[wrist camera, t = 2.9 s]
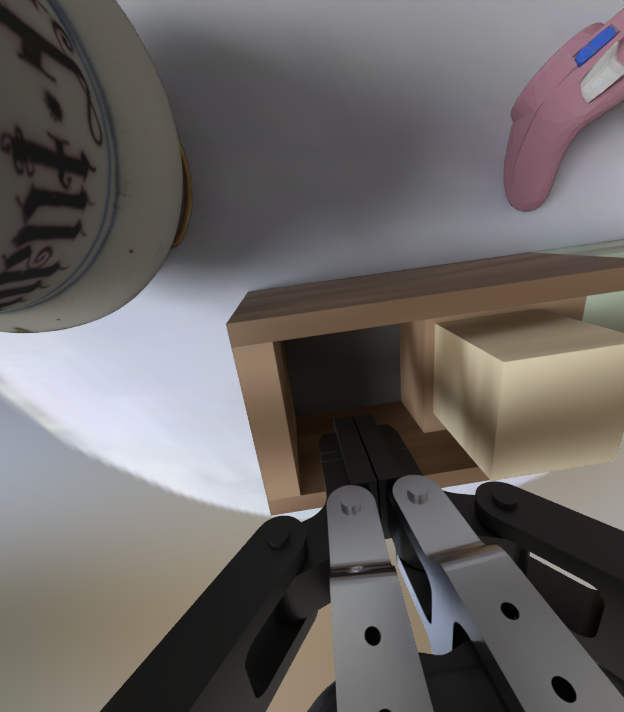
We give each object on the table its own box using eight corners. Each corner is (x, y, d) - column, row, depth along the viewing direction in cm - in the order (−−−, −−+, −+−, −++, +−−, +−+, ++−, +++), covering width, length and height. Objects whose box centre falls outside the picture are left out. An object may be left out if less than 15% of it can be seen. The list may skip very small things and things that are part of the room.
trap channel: (248, 292, 18) (225, 324, 11) (629, 238, 18) (822, 238, 12) (275, 428, 21) (271, 515, 14) (597, 379, 22) (732, 440, 15)
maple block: (435, 323, 15) (503, 362, 10) (536, 308, 15) (649, 340, 10) (433, 412, 17) (490, 480, 12) (523, 398, 17) (615, 460, 12)
